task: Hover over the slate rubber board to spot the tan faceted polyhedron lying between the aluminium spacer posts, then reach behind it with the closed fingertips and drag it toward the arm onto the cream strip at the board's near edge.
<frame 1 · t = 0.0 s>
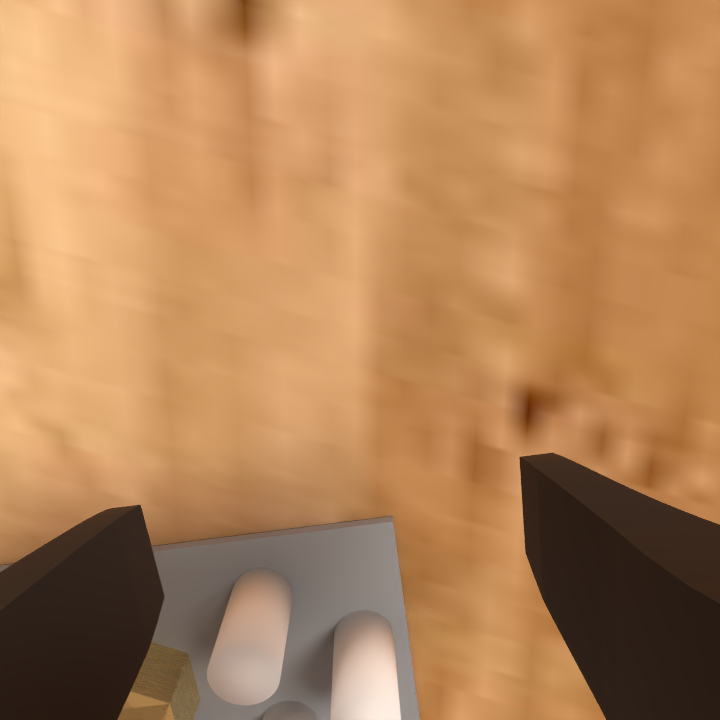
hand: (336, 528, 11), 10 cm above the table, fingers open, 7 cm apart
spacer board: (204, 696, 24), on the table
tan faceted polyhedron: (147, 681, 23), resting on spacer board
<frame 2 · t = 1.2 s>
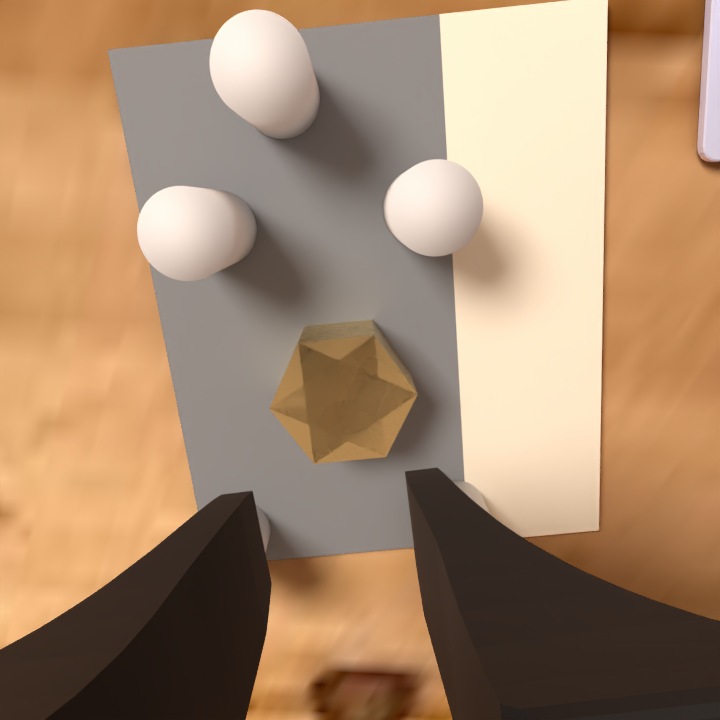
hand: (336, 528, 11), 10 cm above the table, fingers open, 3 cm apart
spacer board: (381, 316, 20), on the table
tan faceted polyhedron: (344, 378, 20), resting on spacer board
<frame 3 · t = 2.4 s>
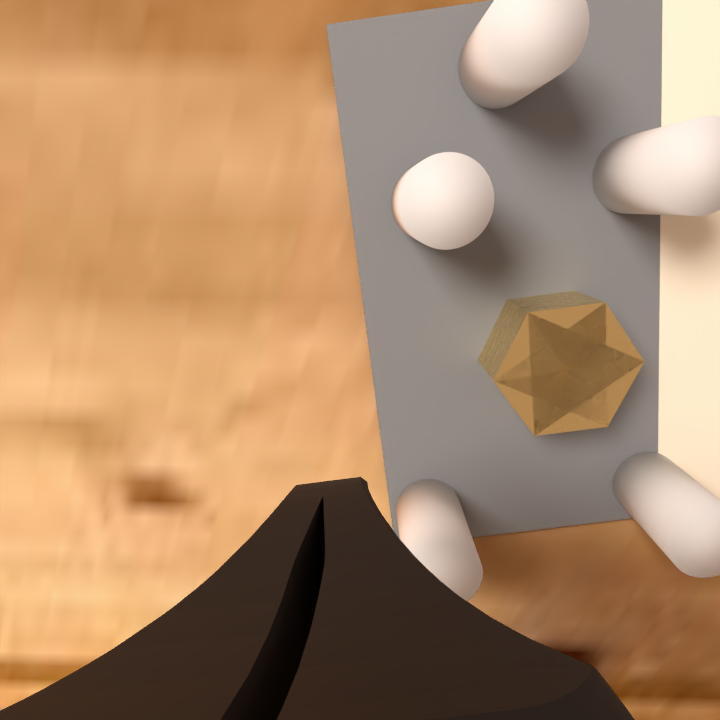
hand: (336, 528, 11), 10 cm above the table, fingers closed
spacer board: (580, 287, 19), on the table
tan faceted polyhedron: (543, 351, 20), resting on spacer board
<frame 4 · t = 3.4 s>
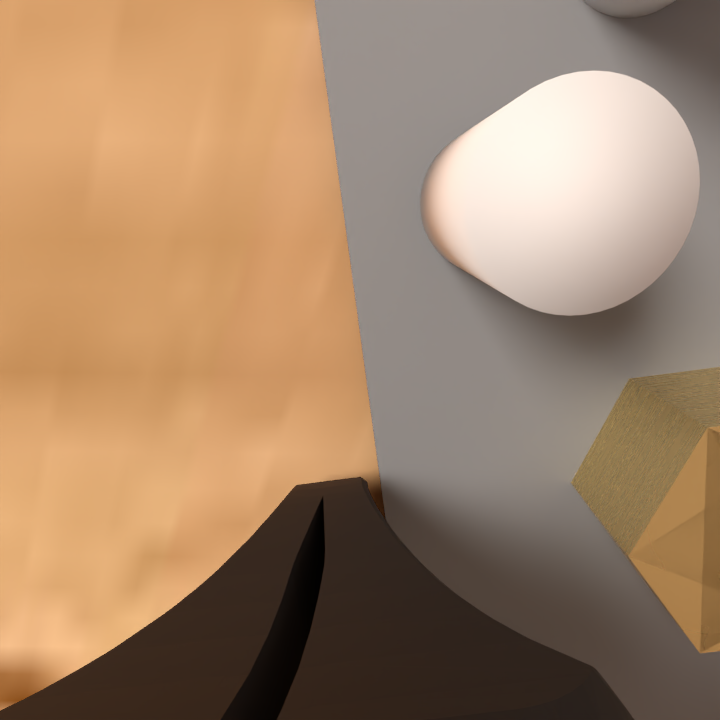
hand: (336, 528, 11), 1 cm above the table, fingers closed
tan faceted polyhedron: (689, 468, 11), resting on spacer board
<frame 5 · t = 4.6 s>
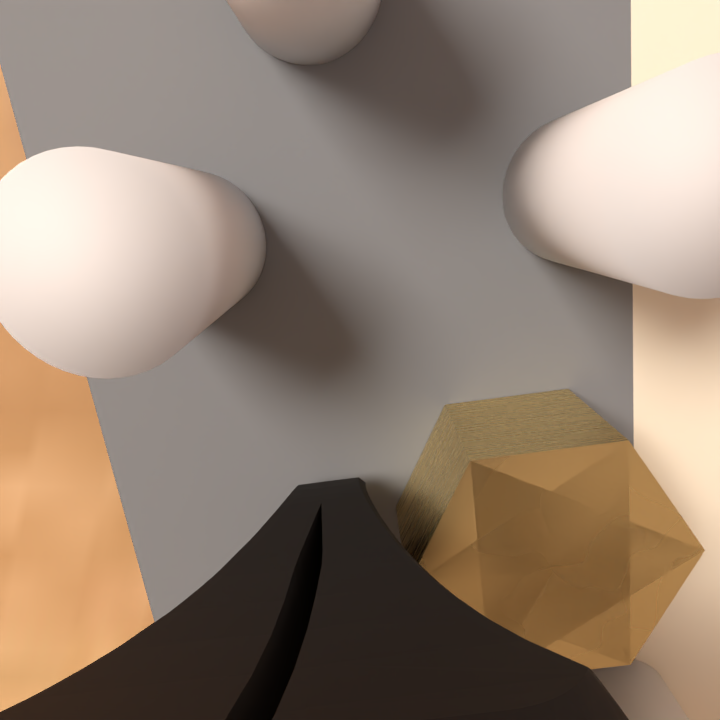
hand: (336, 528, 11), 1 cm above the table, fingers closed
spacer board: (493, 389, 11), on the table
tan faceted polyhedron: (512, 492, 11), resting on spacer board, touching gripper
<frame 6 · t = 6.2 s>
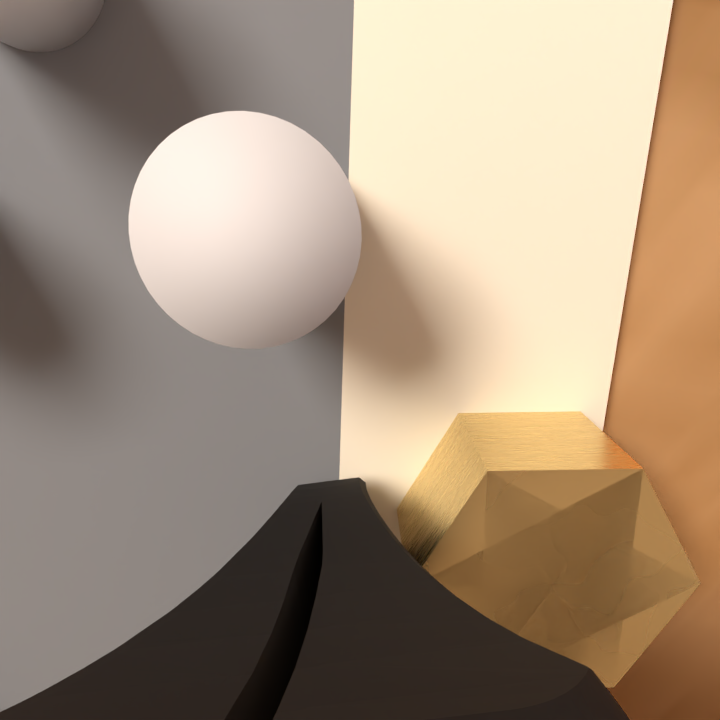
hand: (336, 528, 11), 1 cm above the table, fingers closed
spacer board: (213, 405, 11), on the table
tan faceted polyhedron: (512, 506, 11), resting on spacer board, touching gripper
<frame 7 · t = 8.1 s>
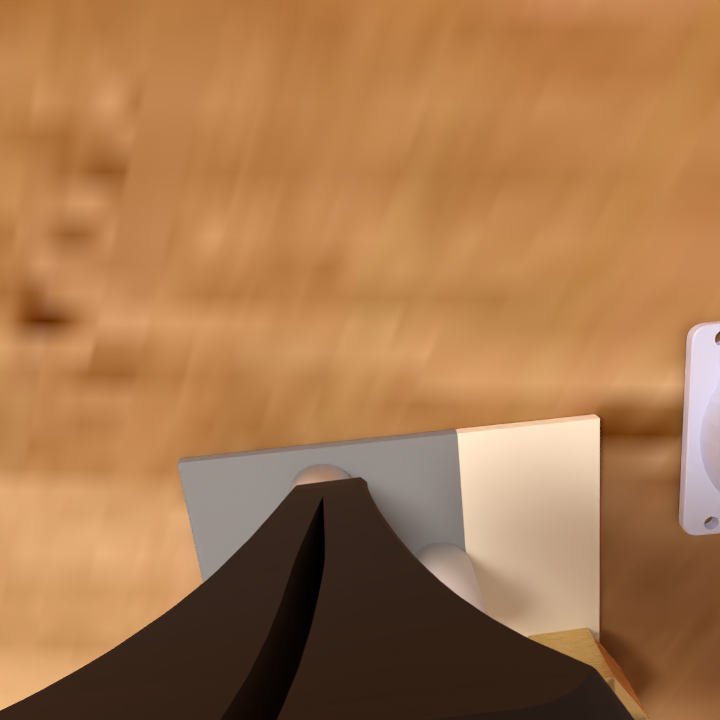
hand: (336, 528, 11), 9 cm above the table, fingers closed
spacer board: (408, 642, 23), on the table
tan faceted polyhedron: (560, 672, 23), resting on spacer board
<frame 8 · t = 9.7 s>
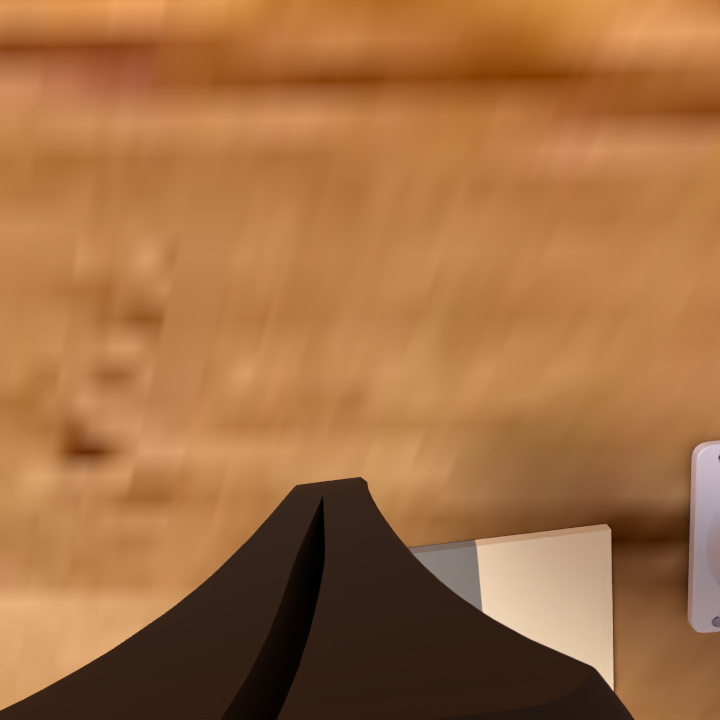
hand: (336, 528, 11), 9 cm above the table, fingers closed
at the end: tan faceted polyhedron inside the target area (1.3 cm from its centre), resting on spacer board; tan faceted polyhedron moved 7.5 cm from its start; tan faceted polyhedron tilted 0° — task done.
